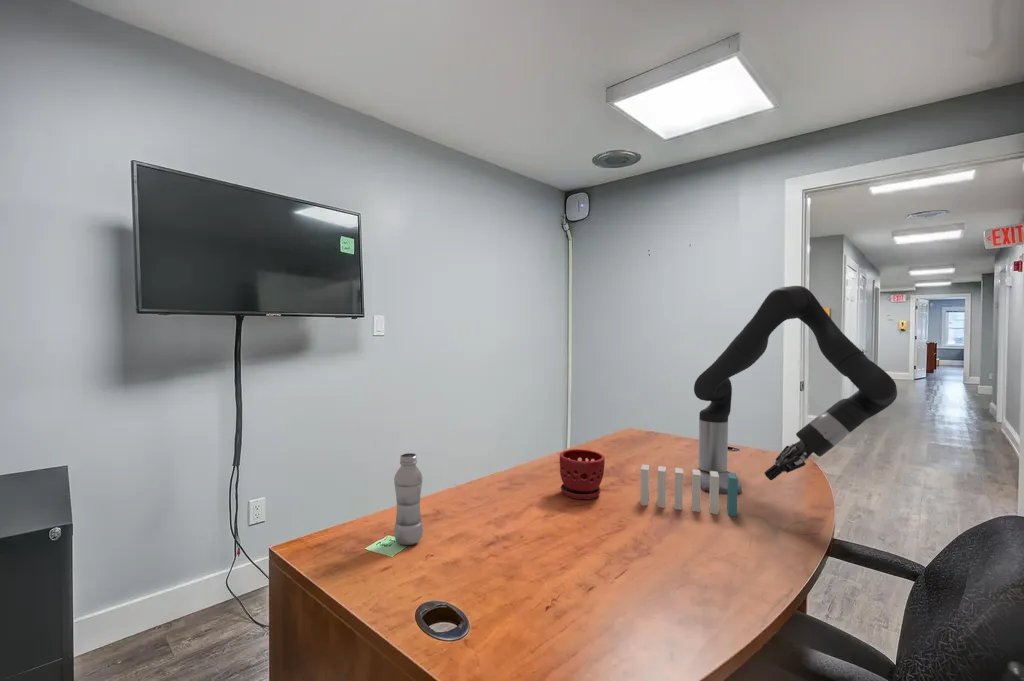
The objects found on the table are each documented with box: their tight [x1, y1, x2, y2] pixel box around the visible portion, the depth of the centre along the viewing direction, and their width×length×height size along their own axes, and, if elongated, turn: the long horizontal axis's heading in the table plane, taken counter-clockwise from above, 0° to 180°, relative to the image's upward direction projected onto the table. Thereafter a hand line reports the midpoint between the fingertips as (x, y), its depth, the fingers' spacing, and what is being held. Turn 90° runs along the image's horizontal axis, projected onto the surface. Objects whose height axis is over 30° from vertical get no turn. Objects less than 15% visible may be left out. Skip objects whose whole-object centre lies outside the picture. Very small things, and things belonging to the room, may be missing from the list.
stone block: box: [700, 471, 743, 494], centre depth 150 cm, size 12×5×10 cm
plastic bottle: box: [393, 452, 424, 546], centre depth 111 cm, size 6×7×20 cm
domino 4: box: [691, 468, 702, 513], centre depth 132 cm, size 2×5×10 cm, turn 161°
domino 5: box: [708, 471, 720, 515], centre depth 131 cm, size 2×5×10 cm, turn 161°
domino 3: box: [674, 467, 684, 511], centre depth 134 cm, size 2×5×10 cm, turn 161°
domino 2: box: [656, 465, 667, 509], centre depth 135 cm, size 2×5×10 cm, turn 161°
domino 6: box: [726, 472, 739, 517], centre depth 130 cm, size 2×5×10 cm, turn 161°
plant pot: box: [559, 448, 606, 500], centre depth 143 cm, size 13×13×12 cm
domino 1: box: [639, 464, 650, 506], centre depth 137 cm, size 2×5×10 cm, turn 161°
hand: (767, 476), depth 127 cm, fingers closed
